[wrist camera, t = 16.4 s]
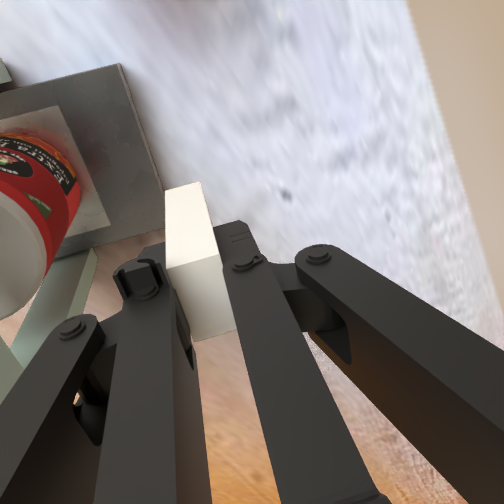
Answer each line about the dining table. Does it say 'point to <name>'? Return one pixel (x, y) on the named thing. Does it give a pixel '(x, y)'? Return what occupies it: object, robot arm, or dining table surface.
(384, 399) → the robot arm
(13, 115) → the plate
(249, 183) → the dining table surface
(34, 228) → the canned food
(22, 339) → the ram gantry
